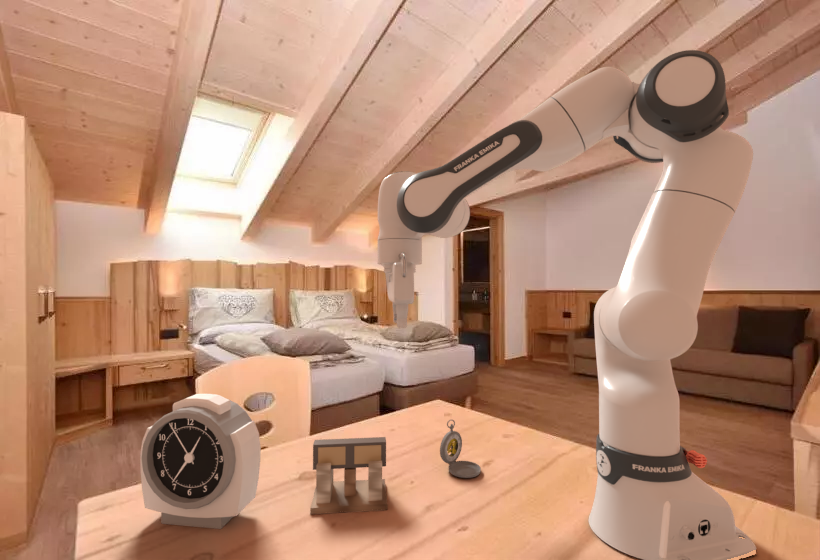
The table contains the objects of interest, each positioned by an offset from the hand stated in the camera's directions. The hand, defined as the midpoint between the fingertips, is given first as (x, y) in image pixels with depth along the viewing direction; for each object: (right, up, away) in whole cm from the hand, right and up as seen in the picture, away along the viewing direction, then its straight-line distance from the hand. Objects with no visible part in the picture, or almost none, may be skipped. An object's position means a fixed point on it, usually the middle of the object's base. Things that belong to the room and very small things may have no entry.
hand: (399, 325), depth 79 cm
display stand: (-9, -31, -6) cm, 33 cm away
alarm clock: (-33, -31, -12) cm, 47 cm away
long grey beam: (-9, -25, -6) cm, 27 cm away
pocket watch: (+13, -31, +5) cm, 34 cm away
